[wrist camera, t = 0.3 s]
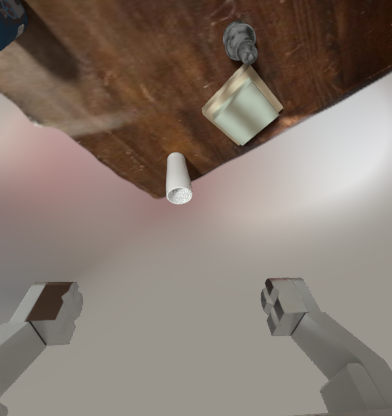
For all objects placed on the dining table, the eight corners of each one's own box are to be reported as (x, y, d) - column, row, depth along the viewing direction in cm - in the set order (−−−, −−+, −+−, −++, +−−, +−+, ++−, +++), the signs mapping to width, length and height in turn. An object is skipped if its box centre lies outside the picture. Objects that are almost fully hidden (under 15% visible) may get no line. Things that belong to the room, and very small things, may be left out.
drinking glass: (190, 163, 69) (195, 200, 60) (169, 169, 70) (171, 207, 61) (183, 146, 64) (188, 184, 55) (161, 153, 65) (162, 191, 56)
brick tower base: (246, 60, 48) (254, 71, 45) (279, 101, 57) (288, 114, 53) (201, 108, 56) (204, 121, 52) (236, 139, 64) (241, 152, 60)
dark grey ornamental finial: (218, 52, 47) (231, 76, 39) (225, 16, 42) (240, 36, 35) (245, 55, 48) (262, 79, 40) (254, 20, 43) (275, 40, 36)
